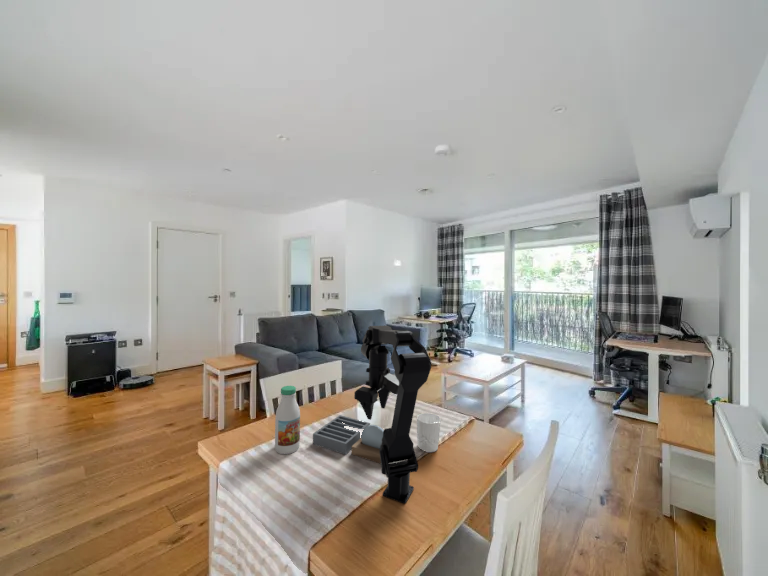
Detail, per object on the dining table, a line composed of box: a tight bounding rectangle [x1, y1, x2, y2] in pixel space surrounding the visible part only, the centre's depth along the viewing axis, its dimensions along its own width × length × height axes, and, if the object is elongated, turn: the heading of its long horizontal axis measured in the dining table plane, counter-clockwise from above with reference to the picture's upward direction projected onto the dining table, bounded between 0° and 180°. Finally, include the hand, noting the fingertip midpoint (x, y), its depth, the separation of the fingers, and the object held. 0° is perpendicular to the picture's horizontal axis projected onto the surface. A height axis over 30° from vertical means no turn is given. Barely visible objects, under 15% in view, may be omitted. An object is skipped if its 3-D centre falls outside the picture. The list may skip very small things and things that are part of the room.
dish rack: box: [312, 414, 371, 455], centre depth 110 cm, size 16×13×4 cm
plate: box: [361, 424, 384, 449], centre depth 101 cm, size 1×9×9 cm, turn 64°
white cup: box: [416, 412, 442, 453], centre depth 106 cm, size 8×8×10 cm
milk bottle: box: [274, 385, 301, 455], centre depth 102 cm, size 8×8×20 cm
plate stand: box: [350, 438, 381, 465], centre depth 101 cm, size 8×12×2 cm, turn 64°
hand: (376, 413), depth 101 cm, fingers open, 9 cm apart
